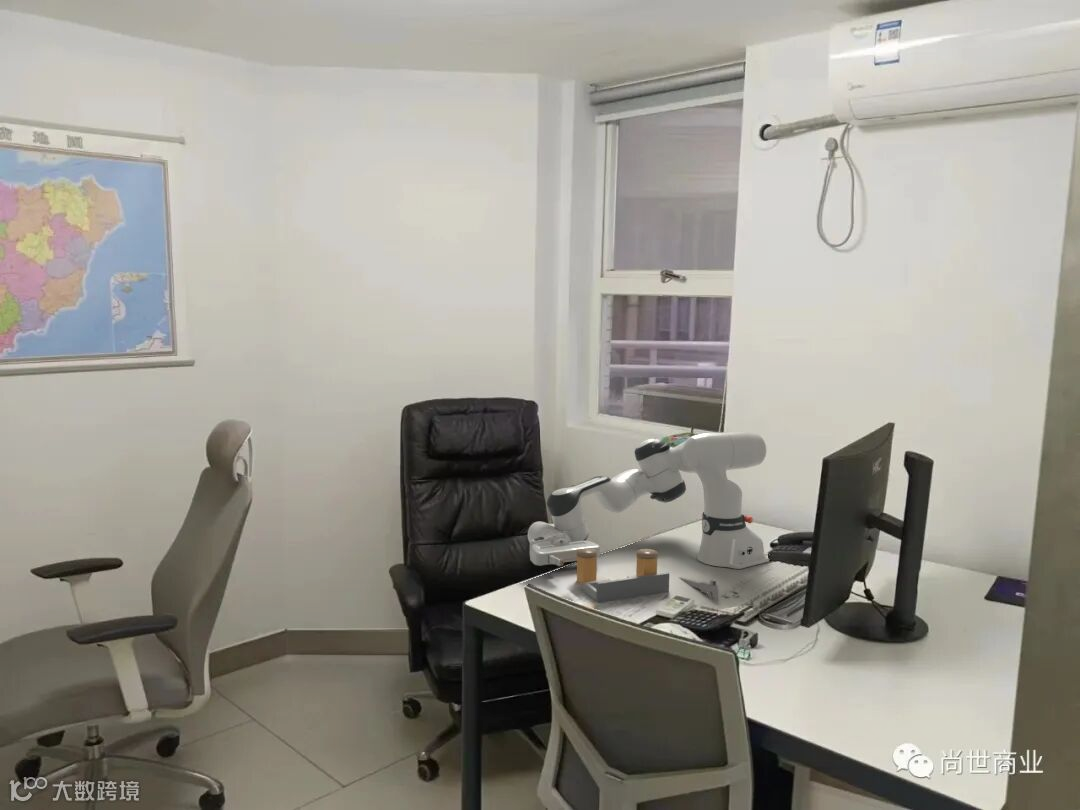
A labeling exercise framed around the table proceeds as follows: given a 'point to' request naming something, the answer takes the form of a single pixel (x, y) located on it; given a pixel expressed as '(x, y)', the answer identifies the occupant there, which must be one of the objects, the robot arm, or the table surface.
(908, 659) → the table surface
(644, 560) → the orange jar with lid
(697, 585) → the caliper
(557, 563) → the robot arm
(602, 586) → the housing
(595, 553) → the amber lidded jar
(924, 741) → the table surface
